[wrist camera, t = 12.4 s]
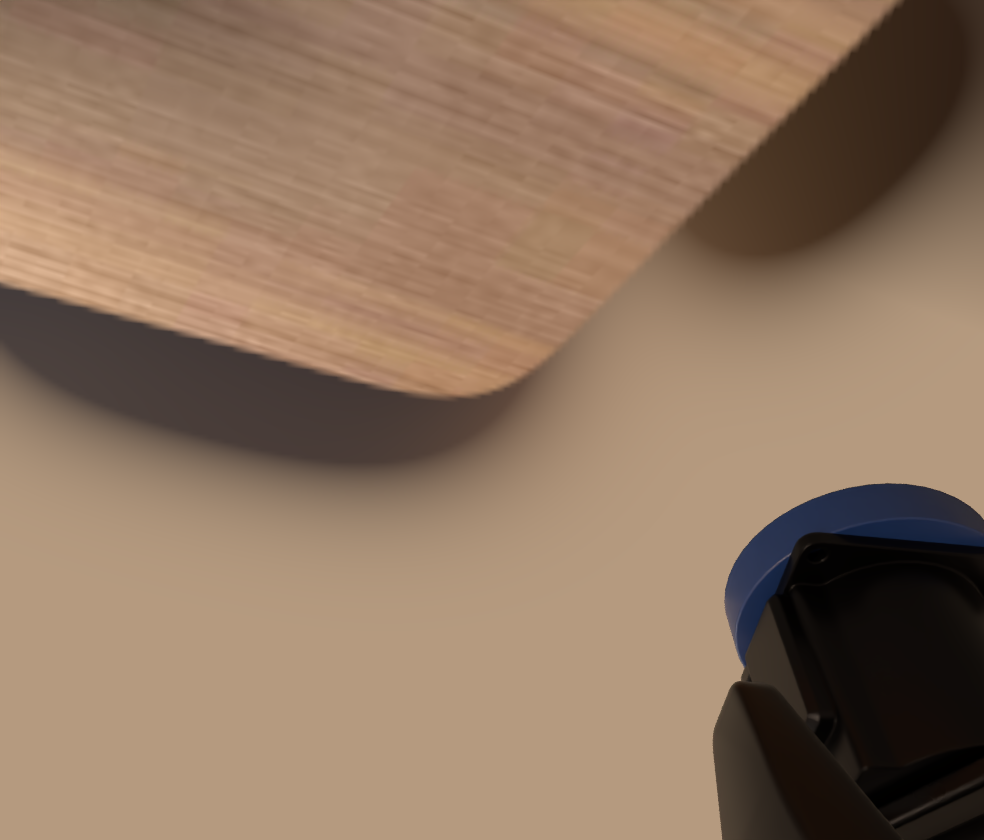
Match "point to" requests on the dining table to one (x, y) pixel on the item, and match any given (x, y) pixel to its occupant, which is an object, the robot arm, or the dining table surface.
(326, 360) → the dining table surface
